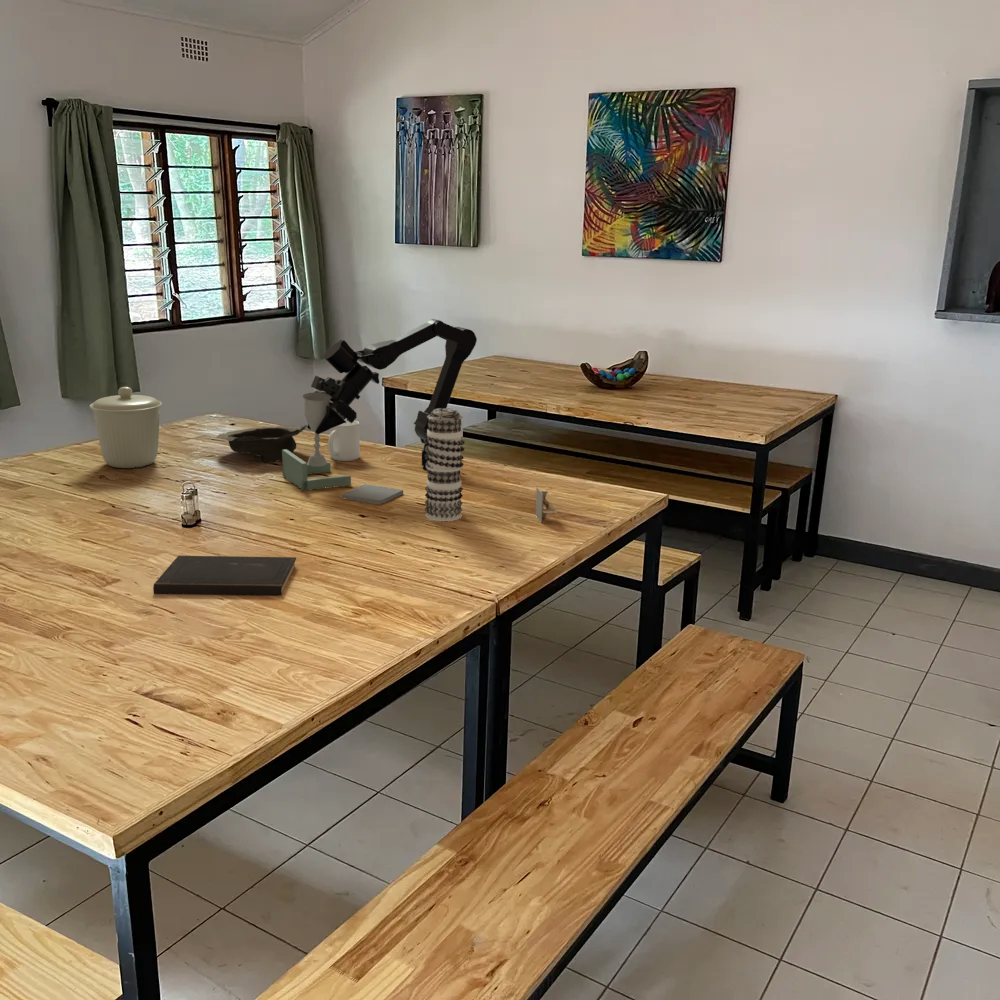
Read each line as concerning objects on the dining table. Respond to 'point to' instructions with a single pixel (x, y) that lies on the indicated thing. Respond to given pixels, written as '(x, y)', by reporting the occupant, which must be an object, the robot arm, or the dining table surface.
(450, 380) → the robot arm
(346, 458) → the mug
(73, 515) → the dining table surface
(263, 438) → the stone bowl
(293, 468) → the u-shaped frame
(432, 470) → the decorative candle
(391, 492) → the rubber mat
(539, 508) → the grey angled bracket piece
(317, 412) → the chalice
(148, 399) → the canister
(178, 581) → the hardcover book
